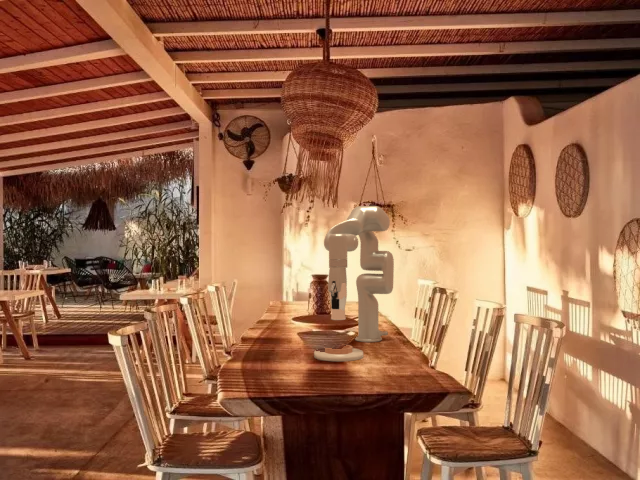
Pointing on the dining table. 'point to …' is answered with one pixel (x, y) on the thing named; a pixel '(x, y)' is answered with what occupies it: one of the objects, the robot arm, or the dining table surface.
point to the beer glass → (340, 304)
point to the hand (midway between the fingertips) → (338, 307)
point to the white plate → (339, 354)
